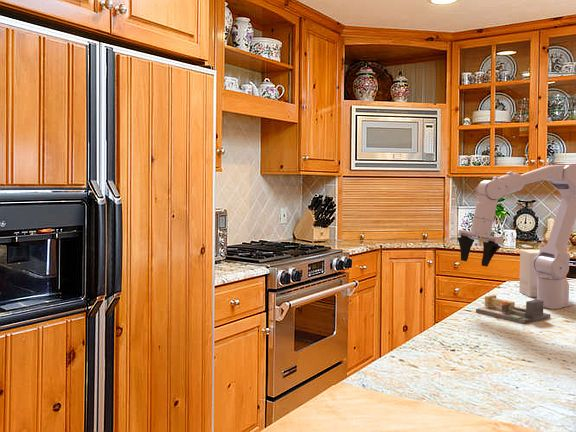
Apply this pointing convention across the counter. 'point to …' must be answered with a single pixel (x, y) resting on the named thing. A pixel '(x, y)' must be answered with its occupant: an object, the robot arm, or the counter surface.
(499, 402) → the counter surface
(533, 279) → the supplement box
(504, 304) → the orange and grey block
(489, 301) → the wooden u-shaped cradle
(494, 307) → the gauge base
